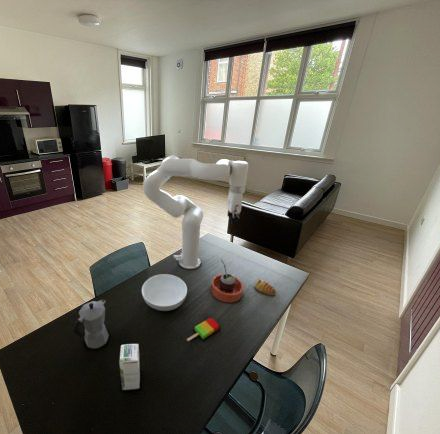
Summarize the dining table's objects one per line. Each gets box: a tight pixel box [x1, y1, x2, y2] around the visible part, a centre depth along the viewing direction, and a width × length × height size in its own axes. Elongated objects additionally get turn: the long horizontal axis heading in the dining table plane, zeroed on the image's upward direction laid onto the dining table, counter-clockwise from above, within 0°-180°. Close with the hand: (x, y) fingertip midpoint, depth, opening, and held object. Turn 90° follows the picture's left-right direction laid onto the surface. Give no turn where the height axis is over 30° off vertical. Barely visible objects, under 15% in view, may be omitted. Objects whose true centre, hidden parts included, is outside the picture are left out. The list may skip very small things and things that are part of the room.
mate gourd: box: [220, 258, 235, 293], centre depth 114 cm, size 8×8×15 cm
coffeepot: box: [71, 299, 110, 349], centre depth 89 cm, size 15×9×18 cm, turn 147°
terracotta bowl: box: [210, 273, 244, 304], centre depth 116 cm, size 15×15×5 cm
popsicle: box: [186, 317, 220, 342], centre depth 96 cm, size 6×15×2 cm, turn 123°
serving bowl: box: [141, 273, 188, 312], centre depth 111 cm, size 21×21×7 cm
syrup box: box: [119, 343, 141, 391], centre depth 76 cm, size 6×6×14 cm
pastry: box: [254, 278, 277, 296], centre depth 117 cm, size 9×7×4 cm
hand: (232, 220), depth 120 cm, fingers open, 9 cm apart
